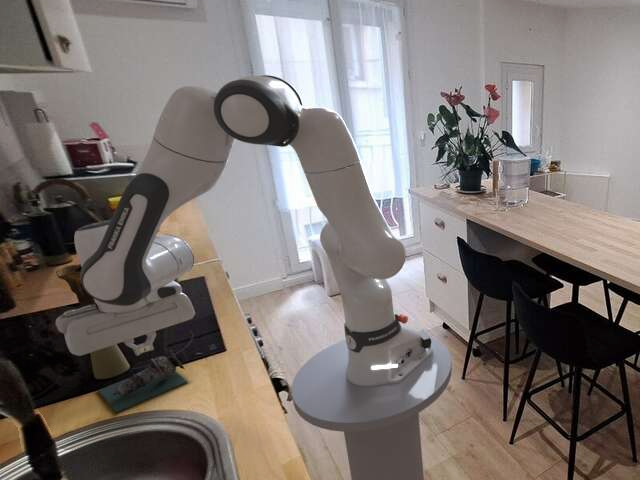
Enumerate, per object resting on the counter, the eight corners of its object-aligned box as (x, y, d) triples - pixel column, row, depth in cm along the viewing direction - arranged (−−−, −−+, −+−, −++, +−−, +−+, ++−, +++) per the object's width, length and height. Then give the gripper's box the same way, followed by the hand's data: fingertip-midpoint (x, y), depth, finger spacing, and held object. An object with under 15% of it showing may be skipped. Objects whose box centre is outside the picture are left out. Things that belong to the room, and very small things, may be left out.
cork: (94, 370, 96) (78, 329, 92) (129, 360, 100) (115, 321, 96) (93, 382, 92) (76, 340, 88) (130, 372, 96) (115, 331, 92)
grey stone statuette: (183, 368, 97) (120, 404, 89) (168, 348, 96) (102, 382, 88) (187, 371, 93) (121, 408, 85) (171, 350, 92) (102, 386, 84)
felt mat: (166, 364, 99) (166, 363, 99) (187, 382, 93) (187, 381, 93) (98, 391, 90) (97, 390, 89) (116, 413, 84) (116, 411, 84)
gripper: (56, 320, 75) (82, 381, 80) (189, 283, 92) (204, 336, 97) (47, 310, 79) (73, 370, 83) (177, 276, 95) (192, 328, 100)
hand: (144, 352), depth 90 cm, fingers closed
